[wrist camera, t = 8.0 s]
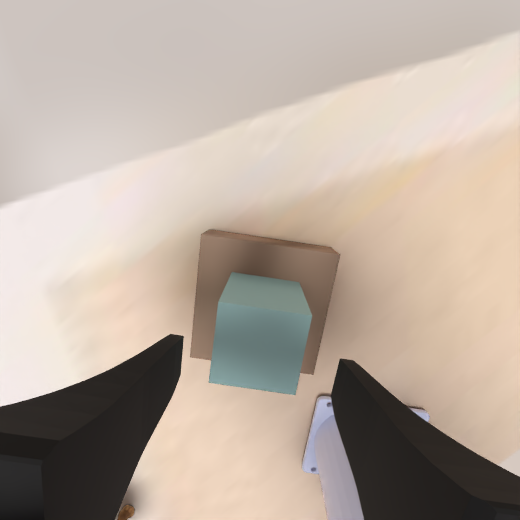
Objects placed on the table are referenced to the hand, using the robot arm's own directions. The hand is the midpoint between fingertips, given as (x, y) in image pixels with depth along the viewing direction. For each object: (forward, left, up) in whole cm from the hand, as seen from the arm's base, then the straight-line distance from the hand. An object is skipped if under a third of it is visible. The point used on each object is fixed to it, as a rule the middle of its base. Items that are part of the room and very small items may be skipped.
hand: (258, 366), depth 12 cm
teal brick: (0, 0, -6) cm, 6 cm away
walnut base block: (0, 0, -9) cm, 9 cm away
